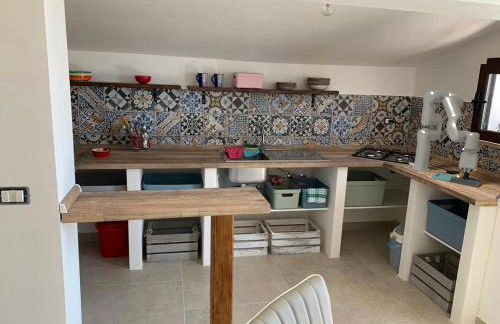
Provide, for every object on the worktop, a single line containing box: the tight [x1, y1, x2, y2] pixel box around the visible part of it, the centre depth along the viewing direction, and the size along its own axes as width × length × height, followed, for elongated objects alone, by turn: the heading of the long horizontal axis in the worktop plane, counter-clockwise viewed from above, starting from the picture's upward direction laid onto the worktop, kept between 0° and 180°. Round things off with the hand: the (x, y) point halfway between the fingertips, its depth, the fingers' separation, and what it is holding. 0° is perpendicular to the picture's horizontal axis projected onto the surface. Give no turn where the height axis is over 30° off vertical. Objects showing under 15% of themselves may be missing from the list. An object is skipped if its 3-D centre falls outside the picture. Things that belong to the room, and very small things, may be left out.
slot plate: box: [449, 175, 483, 188], centre depth 254 cm, size 16×14×3 cm
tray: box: [431, 172, 455, 183], centre depth 263 cm, size 12×14×2 cm
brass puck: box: [454, 173, 464, 179], centre depth 256 cm, size 5×5×2 cm
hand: (465, 177), depth 254 cm, fingers closed
